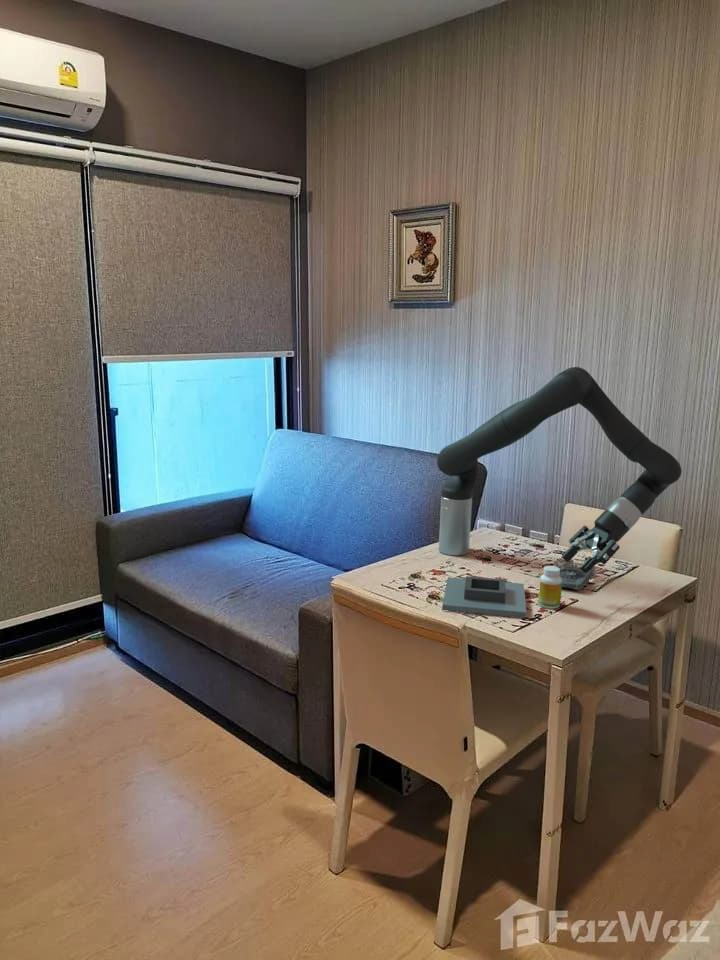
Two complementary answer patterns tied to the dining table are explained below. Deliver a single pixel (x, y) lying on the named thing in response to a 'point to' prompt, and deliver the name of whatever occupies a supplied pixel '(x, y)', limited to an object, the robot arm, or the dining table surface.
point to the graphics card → (574, 575)
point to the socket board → (485, 596)
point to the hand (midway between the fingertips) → (573, 565)
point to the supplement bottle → (550, 588)
